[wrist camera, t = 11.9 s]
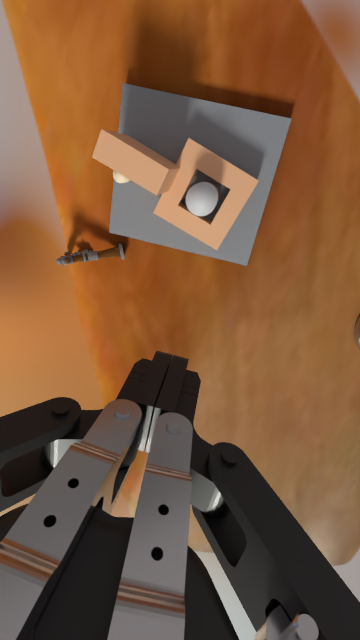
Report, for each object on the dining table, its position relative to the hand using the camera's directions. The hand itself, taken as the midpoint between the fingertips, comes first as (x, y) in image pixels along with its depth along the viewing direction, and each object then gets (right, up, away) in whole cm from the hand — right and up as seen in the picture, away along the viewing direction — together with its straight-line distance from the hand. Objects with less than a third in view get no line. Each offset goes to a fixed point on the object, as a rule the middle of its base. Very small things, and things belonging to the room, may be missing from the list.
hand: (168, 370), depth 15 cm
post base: (+2, +18, +21) cm, 28 cm away
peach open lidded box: (+1, +17, +20) cm, 27 cm away
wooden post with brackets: (-10, +11, +27) cm, 31 cm away
